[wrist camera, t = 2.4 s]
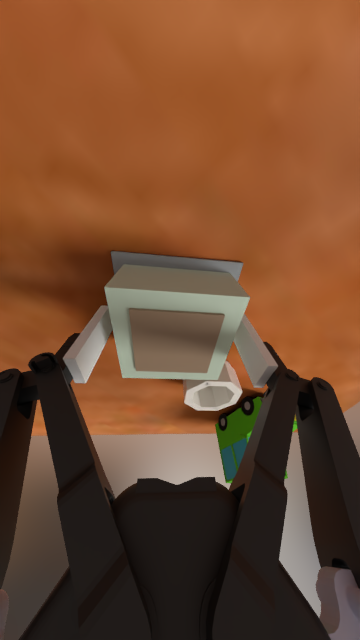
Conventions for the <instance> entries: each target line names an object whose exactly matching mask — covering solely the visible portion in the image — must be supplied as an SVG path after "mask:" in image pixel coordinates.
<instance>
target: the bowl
mask: <svg viewBox="0 0 360 640" xmlns="http://www.w3.org/2000/svg"><path fill="white" fill-rule="evenodd" d="M183 390H184V403H185V404H187V405H189V406H190V407H192V408H194V409H196V410H206V411H218V410H220V409H223V408H226V407H228V406H231V405H233V404H236V402H237V401H238V399H239V397H240V396H241V394H242V389H241V386H240V383H239V381H238V378H237V375H236V373H235V370H234V369H233V368H232V367H231V365H230V363H229V362H228V361H226V360H225V363H224V365H223V368H222V370H221V373H220V375H219V378H218V380H193V379H183Z"/></svg>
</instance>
